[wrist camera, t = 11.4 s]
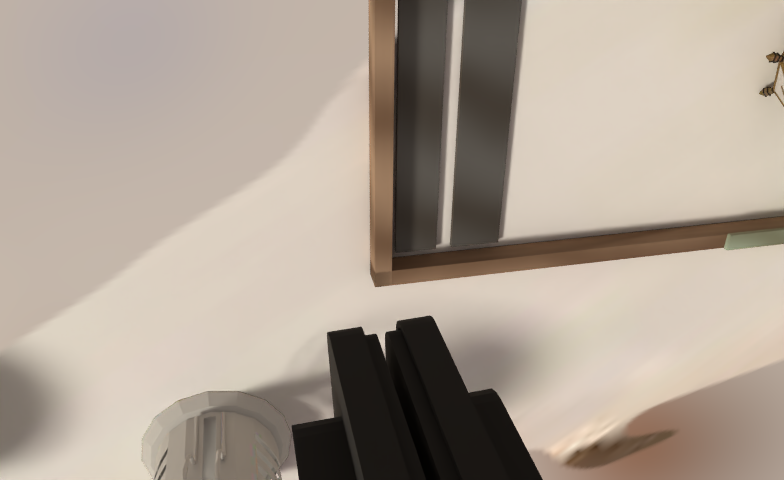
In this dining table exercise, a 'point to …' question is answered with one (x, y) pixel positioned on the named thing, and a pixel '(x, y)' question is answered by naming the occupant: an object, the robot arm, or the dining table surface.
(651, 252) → the shallow open box
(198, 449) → the french press
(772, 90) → the game die
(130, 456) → the dining table surface
